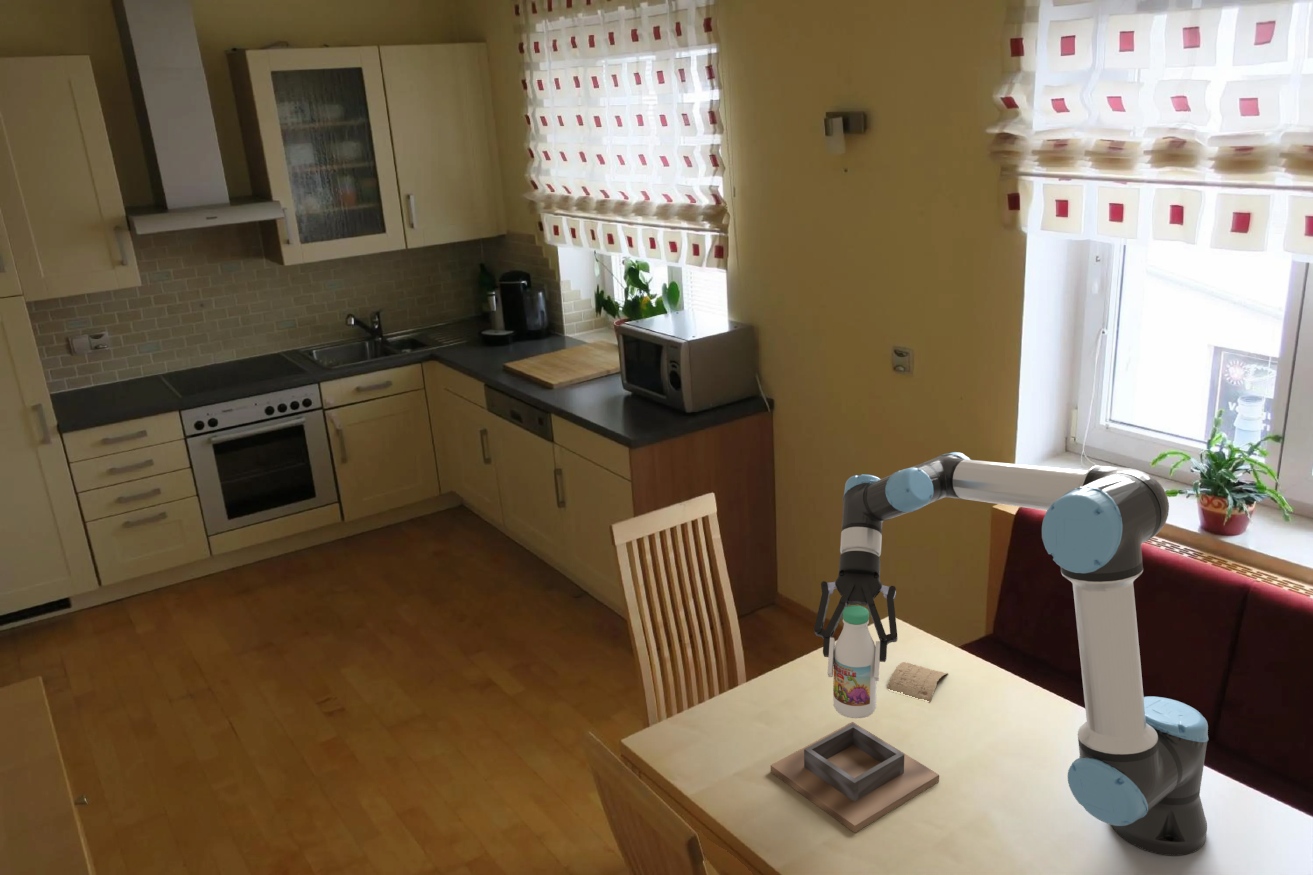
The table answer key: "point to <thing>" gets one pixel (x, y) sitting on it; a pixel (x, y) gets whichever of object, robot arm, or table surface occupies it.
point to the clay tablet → (914, 680)
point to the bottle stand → (854, 775)
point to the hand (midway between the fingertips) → (853, 676)
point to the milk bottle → (854, 666)
